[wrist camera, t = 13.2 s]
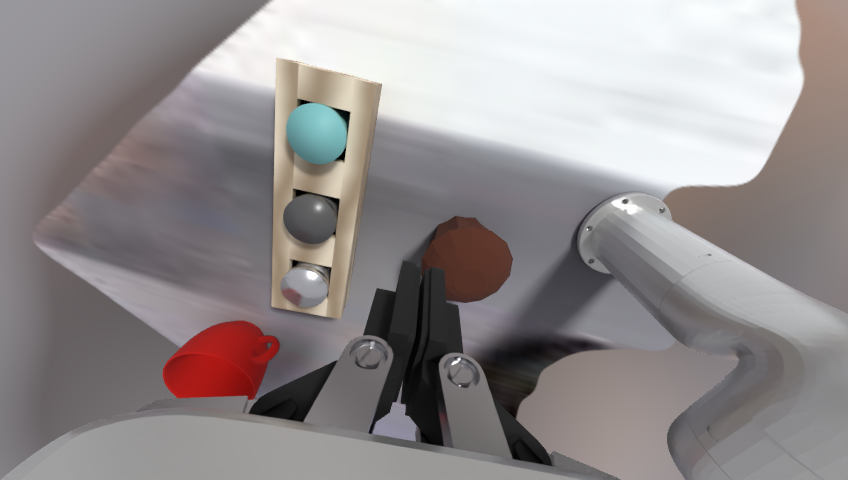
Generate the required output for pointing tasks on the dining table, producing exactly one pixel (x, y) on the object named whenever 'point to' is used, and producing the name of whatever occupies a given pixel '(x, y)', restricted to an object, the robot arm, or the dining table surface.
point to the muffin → (468, 259)
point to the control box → (321, 177)
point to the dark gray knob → (311, 217)
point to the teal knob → (318, 132)
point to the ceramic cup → (221, 362)
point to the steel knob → (306, 284)
